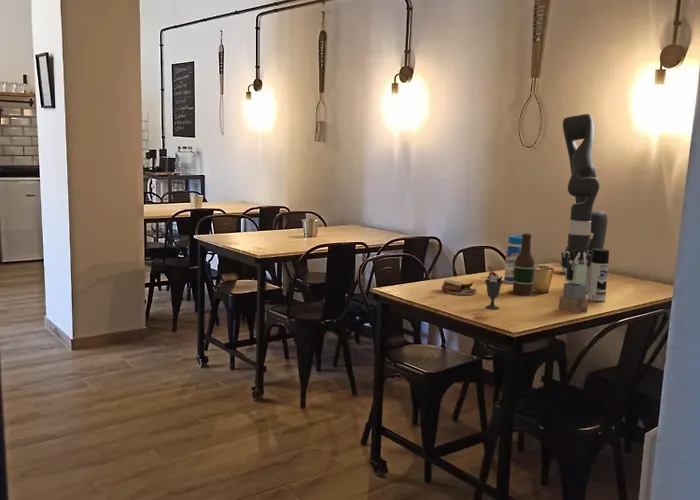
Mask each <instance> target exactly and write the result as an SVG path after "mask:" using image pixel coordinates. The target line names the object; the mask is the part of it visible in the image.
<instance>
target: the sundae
mask: <svg viewBox="0 0 700 500" xmlns="http://www.w3.org/2000/svg"><path fill="white" fill-rule="evenodd" d="M488 269H490V272H489V273H488V275H487V277H486V279H484V282H485V283H486V292H487V293H486V294H487V296H488V297H489V298H490V302H489V303H490V304H488V305H486V306H485V309H487V310H499V309H500V307H499V306H496V305H495V299H497V298H498V296H499V294H500V290H501V286H502V284H503V283H504V279H503V275H502V276H499V274H498V273H495V272H494V271H493V269H492V268H491V266H489V267H488ZM502 279H503V280H502Z"/></svg>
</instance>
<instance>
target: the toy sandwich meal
mask: <svg viewBox="0 0 700 500" xmlns="http://www.w3.org/2000/svg"><path fill="white" fill-rule="evenodd" d="M473 285H474V282H470V283H464V282H461V281H457V280H452V279H451V278H450V279H448V278H447V279H444V280H443V284H442V286H441V289H442V290H443V291H445V292H446V293H447V294H450V295H453V296H455V295H456V296H472V295H474V294H476V293H477V288H471V287H472V286H473Z"/></svg>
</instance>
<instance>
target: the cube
mask: <svg viewBox="0 0 700 500" xmlns="http://www.w3.org/2000/svg"><path fill="white" fill-rule="evenodd" d="M586 287H587V285H584V284H581V283H577V284H575V283H571V282H564V283H563V291H562V293H563V294H562V296H563V297H567V298H570V299H573V300H577V299H585V298H587V292H586Z"/></svg>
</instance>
